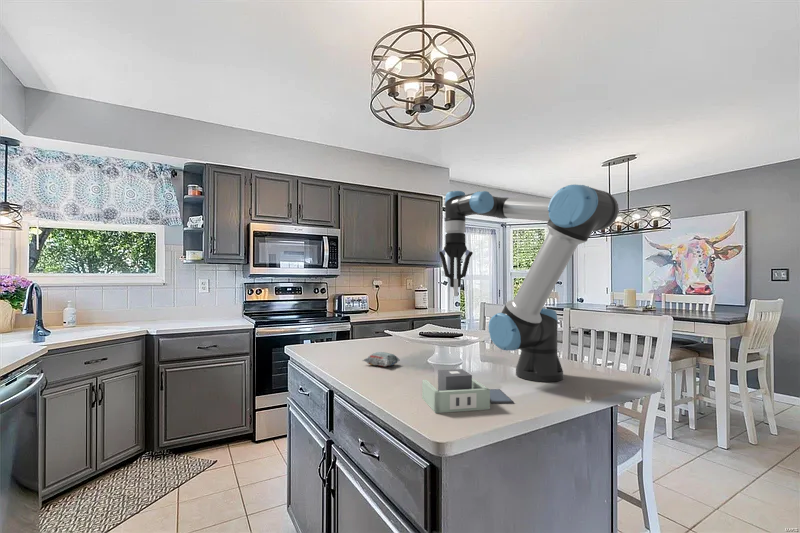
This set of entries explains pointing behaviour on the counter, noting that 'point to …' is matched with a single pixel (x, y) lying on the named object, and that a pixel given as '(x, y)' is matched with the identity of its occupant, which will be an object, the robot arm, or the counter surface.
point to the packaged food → (381, 359)
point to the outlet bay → (456, 398)
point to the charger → (454, 380)
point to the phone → (499, 397)
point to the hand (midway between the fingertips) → (455, 296)
